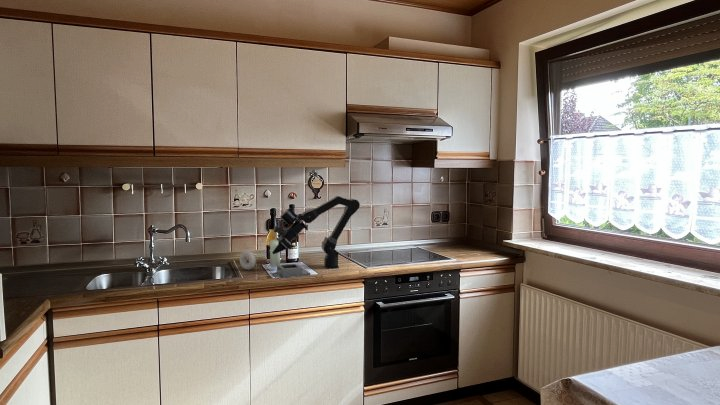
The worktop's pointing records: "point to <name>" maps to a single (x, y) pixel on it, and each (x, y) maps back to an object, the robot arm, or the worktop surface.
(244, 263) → the donut
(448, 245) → the worktop surface
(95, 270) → the worktop surface
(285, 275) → the socket
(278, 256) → the pale green cylinder
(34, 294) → the worktop surface
